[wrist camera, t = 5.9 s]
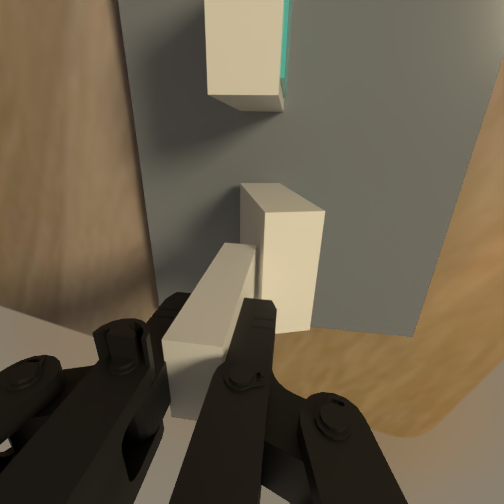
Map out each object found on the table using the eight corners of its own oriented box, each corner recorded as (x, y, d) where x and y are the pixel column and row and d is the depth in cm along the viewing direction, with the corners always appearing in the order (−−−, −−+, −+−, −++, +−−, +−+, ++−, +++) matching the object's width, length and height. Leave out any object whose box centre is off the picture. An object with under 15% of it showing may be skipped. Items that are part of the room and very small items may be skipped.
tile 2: (276, 266, 20) (312, 329, 13) (239, 269, 19) (259, 335, 13) (281, 182, 17) (328, 210, 11) (240, 183, 17) (265, 212, 11)
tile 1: (286, 111, 16) (282, 95, 9) (240, 111, 16) (207, 94, 10) (294, -26, 13) (298, -174, 7) (241, -24, 14) (197, -164, 7)
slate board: (406, 326, 22) (412, 337, 20) (165, 303, 24) (160, 311, 23) (540, -110, 12) (564, -135, 11) (118, -81, 14) (104, -99, 13)
